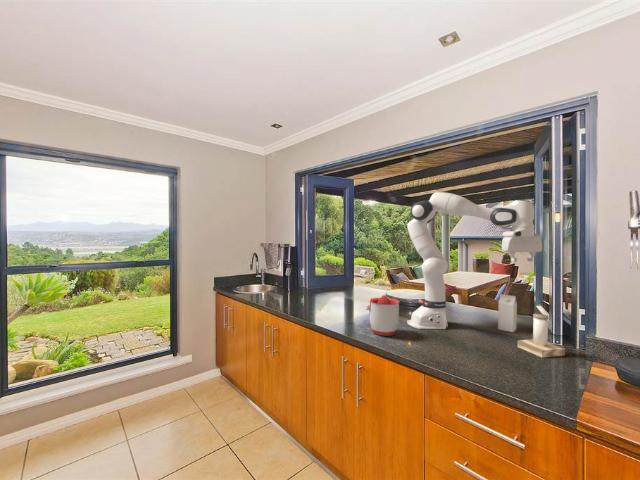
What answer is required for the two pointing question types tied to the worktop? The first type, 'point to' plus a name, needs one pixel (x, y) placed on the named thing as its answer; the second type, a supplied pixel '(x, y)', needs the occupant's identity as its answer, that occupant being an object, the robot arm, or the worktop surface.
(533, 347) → the base slab
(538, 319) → the canister
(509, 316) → the milk carton
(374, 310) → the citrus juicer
